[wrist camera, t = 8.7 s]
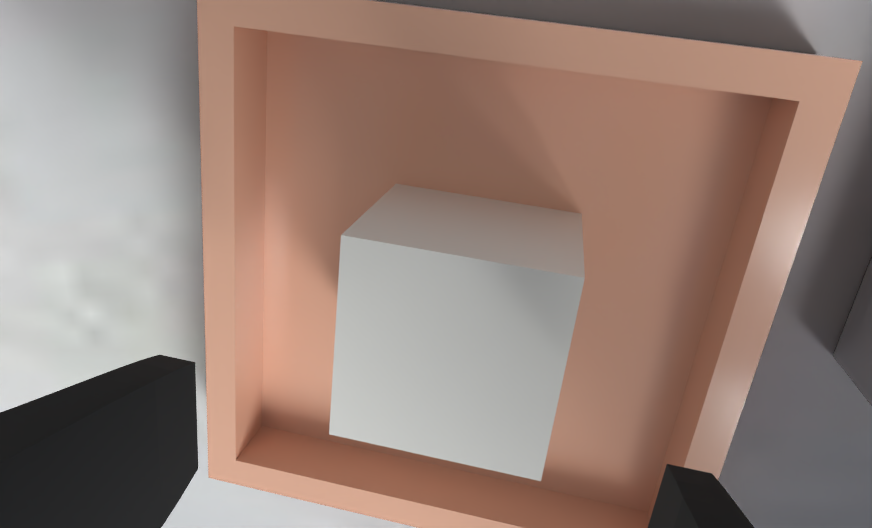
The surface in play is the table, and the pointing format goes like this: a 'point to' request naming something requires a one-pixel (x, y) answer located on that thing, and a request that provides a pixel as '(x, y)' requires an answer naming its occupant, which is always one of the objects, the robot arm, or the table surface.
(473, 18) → the terracotta tray
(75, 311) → the table surface
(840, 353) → the grey tray
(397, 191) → the white cube
